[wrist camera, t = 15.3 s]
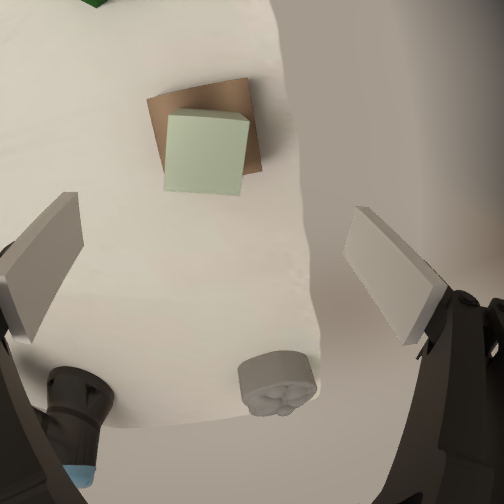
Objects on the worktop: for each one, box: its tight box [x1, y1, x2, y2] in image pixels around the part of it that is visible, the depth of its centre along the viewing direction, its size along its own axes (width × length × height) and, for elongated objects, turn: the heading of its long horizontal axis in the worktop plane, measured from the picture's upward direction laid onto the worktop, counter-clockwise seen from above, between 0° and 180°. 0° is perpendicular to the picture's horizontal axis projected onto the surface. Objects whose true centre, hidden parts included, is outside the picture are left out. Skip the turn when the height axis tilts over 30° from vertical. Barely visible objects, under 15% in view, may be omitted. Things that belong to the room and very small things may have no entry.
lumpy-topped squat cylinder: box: [238, 351, 317, 416], centre depth 53 cm, size 10×13×9 cm
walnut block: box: [147, 78, 262, 175], centre depth 31 cm, size 10×10×5 cm
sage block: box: [164, 108, 250, 196], centre depth 26 cm, size 6×6×8 cm
